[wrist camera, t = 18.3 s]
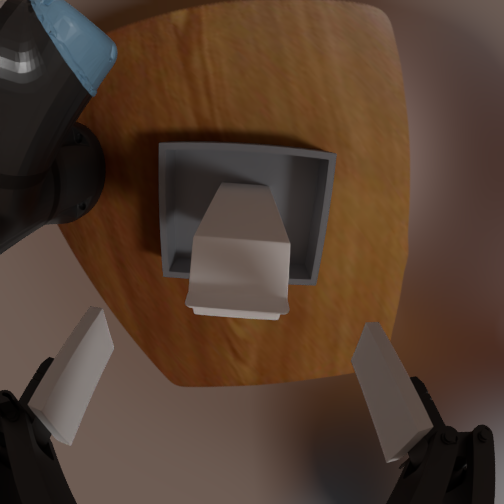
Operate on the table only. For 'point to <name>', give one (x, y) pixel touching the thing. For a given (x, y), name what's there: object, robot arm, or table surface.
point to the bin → (244, 172)
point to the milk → (240, 256)
